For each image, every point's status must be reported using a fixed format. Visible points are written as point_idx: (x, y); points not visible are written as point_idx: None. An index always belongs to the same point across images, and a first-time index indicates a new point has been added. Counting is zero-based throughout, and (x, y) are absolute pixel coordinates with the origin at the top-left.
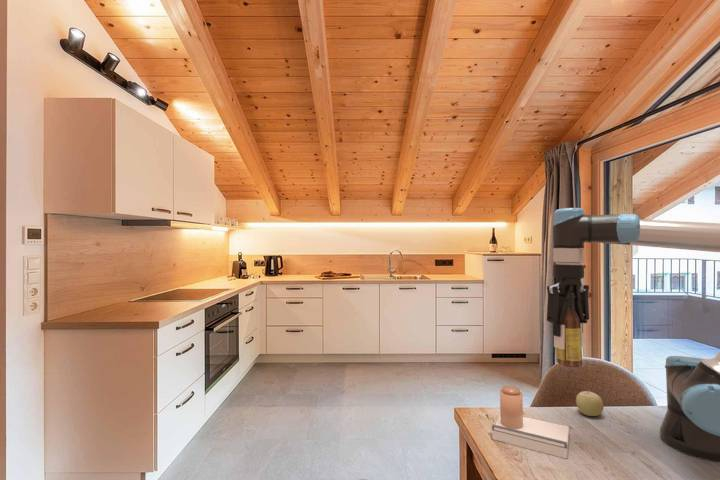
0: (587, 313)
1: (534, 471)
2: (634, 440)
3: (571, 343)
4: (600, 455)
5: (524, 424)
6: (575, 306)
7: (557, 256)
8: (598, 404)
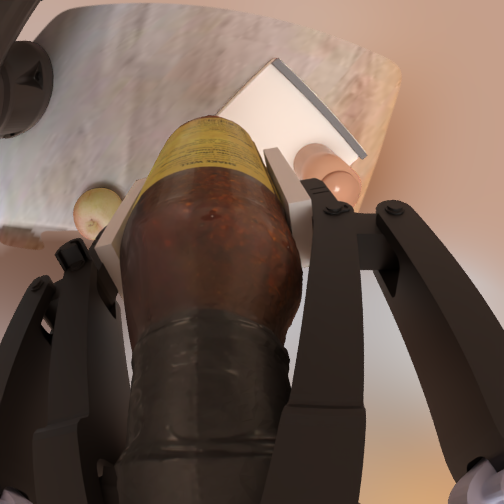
0: (25, 309)
1: (353, 48)
2: (92, 101)
3: (237, 141)
4: (199, 56)
5: (291, 156)
6: (105, 373)
7: None
8: (89, 195)
